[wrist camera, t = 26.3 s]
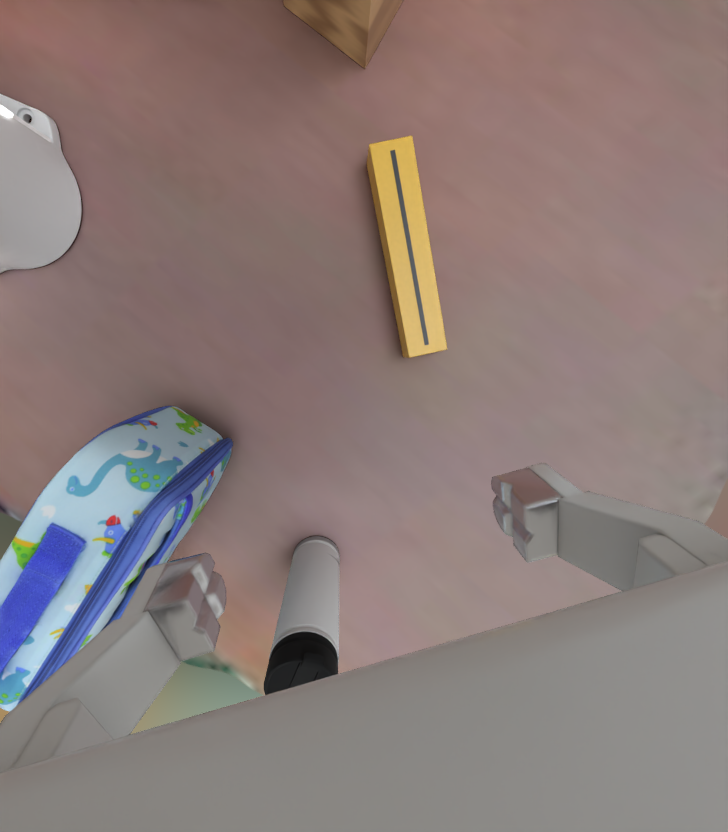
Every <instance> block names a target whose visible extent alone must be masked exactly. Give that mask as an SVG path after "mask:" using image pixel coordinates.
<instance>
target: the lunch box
mask: <svg viewBox="0 0 728 832" xmlns="http://www.w3.org/2000/svg"><path fill="white" fill-rule="evenodd" d="M232 446H233V442H232V440H231V439H230V438H226V439H223V438H222V437H221V436H220V435H219V434H218V433H217V432H216V431H214V430H213V429H211V428H210V427H208V426H207V425H205V424H203V423H202V422H200V421H199V420H197V419H195V418H194V417H192V416H190V415H188V414H187V413H185V412H184V411H183V410H181V409H180V408H178V407H176V406H165V407H160V408H157V409H153V410H150V411H147V412H144V413H142V414H139V415H137V416H134V417H132V418H130V419H127V420H125V421H123V422H120V423H118V424H116V425H114V426H112V427H110V428H108V429H106V430H105V431H103V432H101V433H100V434H99V435H97V436H96V437H94V438H93V439H92V440H91V441H89V442H88V443H87V444H86V445H85V446H84V447H82V448H81V449H80V450H79V451H78V452H77V453H76V454H75V455H74V456H73V457H72V458H71V459H70V460H69V461H68V462H67V463H66V464H65V465H64V467H63V468H62V469H61V470H60V471H59V472H58V473H57V474H56V475H55V476H54V478H53V479H52V480H51V481H50V482H49V483H48V485H47V486H46V487H45V488H44V490H43V491H42V493H41V494H40V495H39V497H38V498H37V500H36V501H35V503H34V504H33V506H32V508H31V509H30V511H29V513H28V514H27V516H26V518H25V519H24V521H23V523H22V525H21V526H20V528H19V530H18V532H17V534H16V536H15V537H14V539H13V541H12V543H11V544H10V546H9V548H8V549H7V551H6V553H5V554H4V556H3V558H2V559H1V561H0V707H1V708H2V709H4V710H6V711H11V710H13V709H14V708H15V707H16V706H17V705H18V704H19V703H21V702H22V701H23V700H24V699H25V698H26V697H27V696H28V695H30V694H31V693H32V692H33V691H34V690H35V689H36V688H38V687H39V686H40V685H41V684H42V683H43V682H44V681H45V680H47V679H48V678H49V677H50V676H51V675H52V674H53V673H55V672H56V671H57V670H58V669H59V668H60V667H61V666H62V665H64V664H65V663H66V662H67V661H68V660H69V659H70V658H72V657H73V656H74V655H75V654H76V653H77V652H78V651H79V650H81V649H82V648H83V647H84V646H85V645H86V644H87V643H89V642H90V641H91V640H92V639H93V638H94V637H95V636H96V635H98V634H99V633H100V632H101V631H102V630H103V629H104V628H106V627H107V626H108V625H109V624H110V623H111V622H112V621H113V620H117V619H120V617H121V616H122V614H123V612H124V610H125V608H126V606H127V605H128V603H129V601H130V599H131V597H132V596H133V594H134V592H135V590H136V588H137V586H138V585H139V583H140V581H141V579H142V577H143V576H144V574H145V572H146V570H147V569H148V568H150V567H151V566H154V565H158V564H162V563H166V562H167V561H168V560H169V558H170V556H171V555H172V553H173V551H174V550H175V548H176V546H177V545H178V543H179V542H180V541H181V540H182V539H183V537H184V536H185V535H186V534H187V532H188V530H189V529H190V527H191V526H192V524H193V523H194V521H195V520H196V518H197V517H198V515H199V514H200V512H201V511H202V509H203V507H204V506H205V504H206V503H207V501H208V499H209V498H210V496H211V494H212V493H213V491H214V489H215V488H216V486H217V484H218V482H219V480H220V478H221V476H222V474H223V472H224V470H225V468H226V466H227V463H228V461H229V458H230V456H231V448H232Z"/></svg>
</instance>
